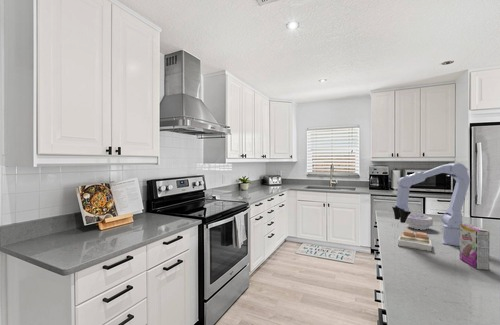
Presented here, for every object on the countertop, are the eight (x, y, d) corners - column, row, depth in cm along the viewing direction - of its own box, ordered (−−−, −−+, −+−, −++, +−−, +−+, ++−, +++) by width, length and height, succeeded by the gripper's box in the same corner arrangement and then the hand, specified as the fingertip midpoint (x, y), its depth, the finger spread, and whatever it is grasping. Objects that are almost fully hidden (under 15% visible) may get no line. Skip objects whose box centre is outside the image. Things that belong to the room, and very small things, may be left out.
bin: (430, 244, 130) (430, 239, 130) (431, 251, 120) (431, 245, 120) (399, 239, 138) (399, 234, 138) (398, 245, 128) (398, 240, 128)
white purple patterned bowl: (409, 230, 158) (409, 218, 158) (402, 224, 172) (402, 213, 172) (437, 232, 153) (437, 219, 153) (427, 226, 168) (427, 215, 168)
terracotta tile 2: (414, 234, 141) (414, 231, 141) (413, 236, 137) (413, 233, 137) (403, 233, 144) (404, 229, 144) (403, 235, 140) (403, 231, 140)
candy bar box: (458, 258, 111) (458, 223, 111) (471, 259, 110) (471, 224, 110) (475, 269, 100) (476, 230, 100) (490, 270, 99) (490, 230, 99)
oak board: (428, 239, 139) (428, 236, 139) (429, 244, 130) (429, 241, 130) (402, 235, 146) (402, 232, 146) (400, 240, 137) (400, 236, 137)
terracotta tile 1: (426, 236, 138) (426, 233, 138) (426, 238, 134) (426, 235, 134) (416, 234, 141) (416, 231, 141) (415, 237, 137) (416, 233, 137)
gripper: (390, 195, 147) (387, 217, 148) (400, 199, 133) (397, 223, 134) (402, 196, 146) (400, 218, 147) (414, 200, 132) (411, 225, 132)
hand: (399, 221), depth 140 cm, fingers open, 7 cm apart
